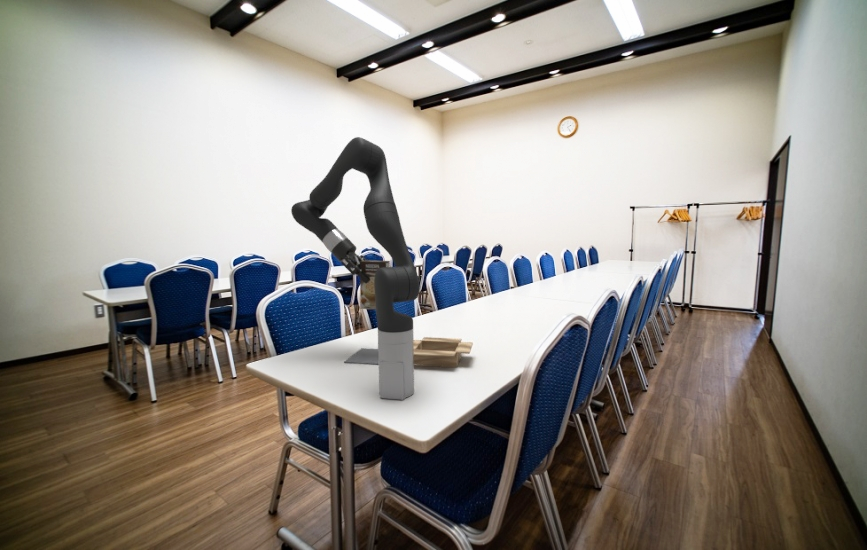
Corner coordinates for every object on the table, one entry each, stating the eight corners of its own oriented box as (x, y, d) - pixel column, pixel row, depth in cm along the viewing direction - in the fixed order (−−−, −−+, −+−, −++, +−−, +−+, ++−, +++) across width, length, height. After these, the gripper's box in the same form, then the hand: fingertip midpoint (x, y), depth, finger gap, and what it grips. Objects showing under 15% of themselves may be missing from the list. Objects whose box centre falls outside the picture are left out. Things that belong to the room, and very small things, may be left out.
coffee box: (359, 309, 123) (358, 261, 121) (365, 305, 129) (364, 260, 128) (386, 310, 122) (385, 261, 120) (390, 306, 128) (390, 260, 127)
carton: (468, 372, 111) (468, 356, 111) (397, 368, 116) (397, 352, 115) (473, 353, 130) (473, 339, 130) (412, 350, 134) (412, 336, 134)
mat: (384, 365, 119) (384, 364, 119) (344, 362, 121) (344, 361, 121) (398, 351, 133) (398, 350, 133) (361, 349, 136) (361, 348, 136)
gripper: (336, 237, 118) (372, 275, 117) (355, 237, 132) (386, 270, 131) (322, 254, 120) (356, 291, 119) (341, 252, 134) (373, 285, 133)
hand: (372, 280), depth 125 cm, fingers closed on coffee box, 6 cm apart
